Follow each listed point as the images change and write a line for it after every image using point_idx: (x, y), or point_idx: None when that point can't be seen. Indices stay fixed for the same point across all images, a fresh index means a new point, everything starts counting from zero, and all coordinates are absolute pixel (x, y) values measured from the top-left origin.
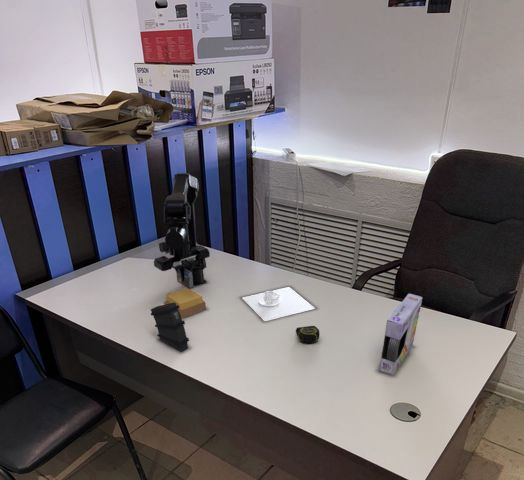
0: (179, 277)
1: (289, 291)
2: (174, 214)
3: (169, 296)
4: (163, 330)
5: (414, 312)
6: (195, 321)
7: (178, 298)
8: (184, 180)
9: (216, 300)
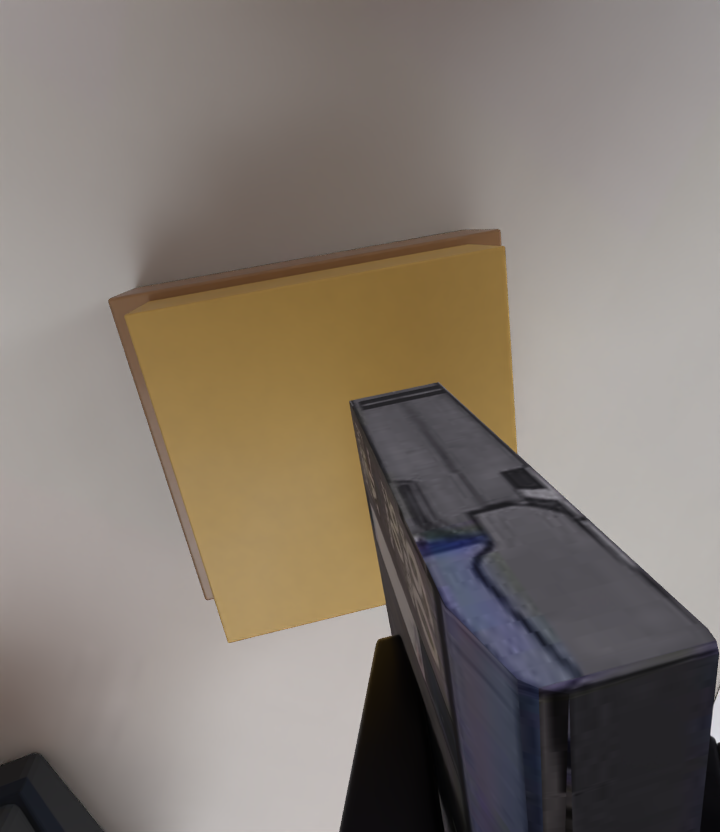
0: (364, 717)
1: None
2: None
3: (160, 398)
4: None
5: None
6: (324, 625)
7: (259, 511)
8: None
9: (644, 374)
